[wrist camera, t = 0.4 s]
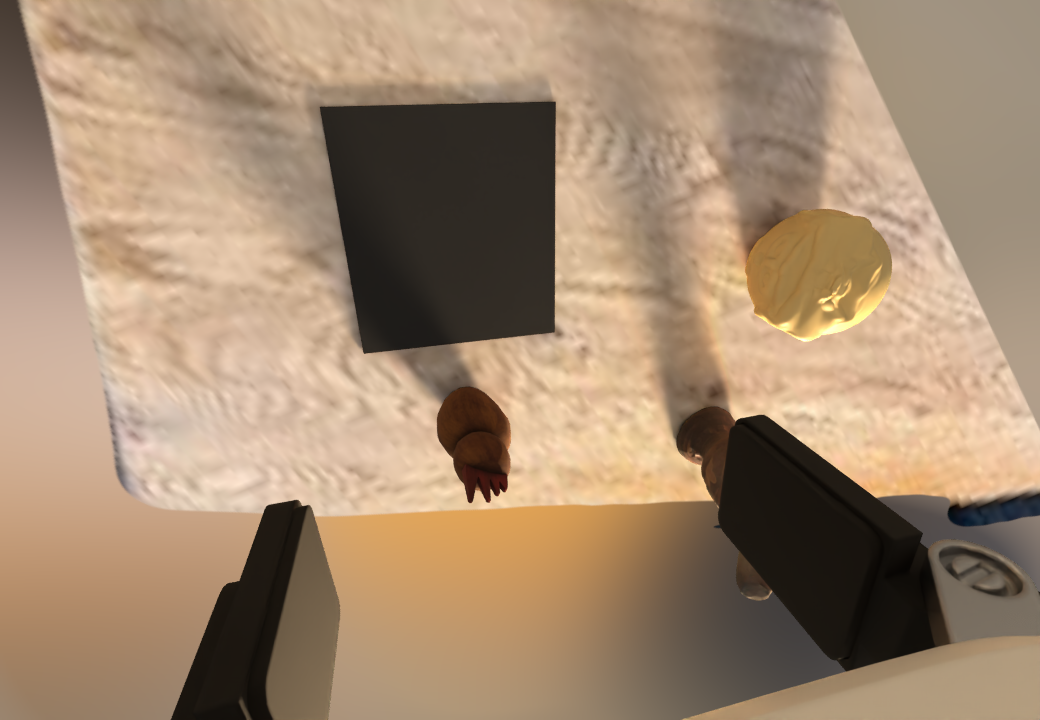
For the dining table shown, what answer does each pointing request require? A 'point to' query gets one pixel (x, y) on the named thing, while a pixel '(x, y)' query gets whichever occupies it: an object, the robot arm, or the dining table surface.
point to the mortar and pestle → (717, 476)
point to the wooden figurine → (476, 440)
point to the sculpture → (818, 273)
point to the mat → (446, 219)
